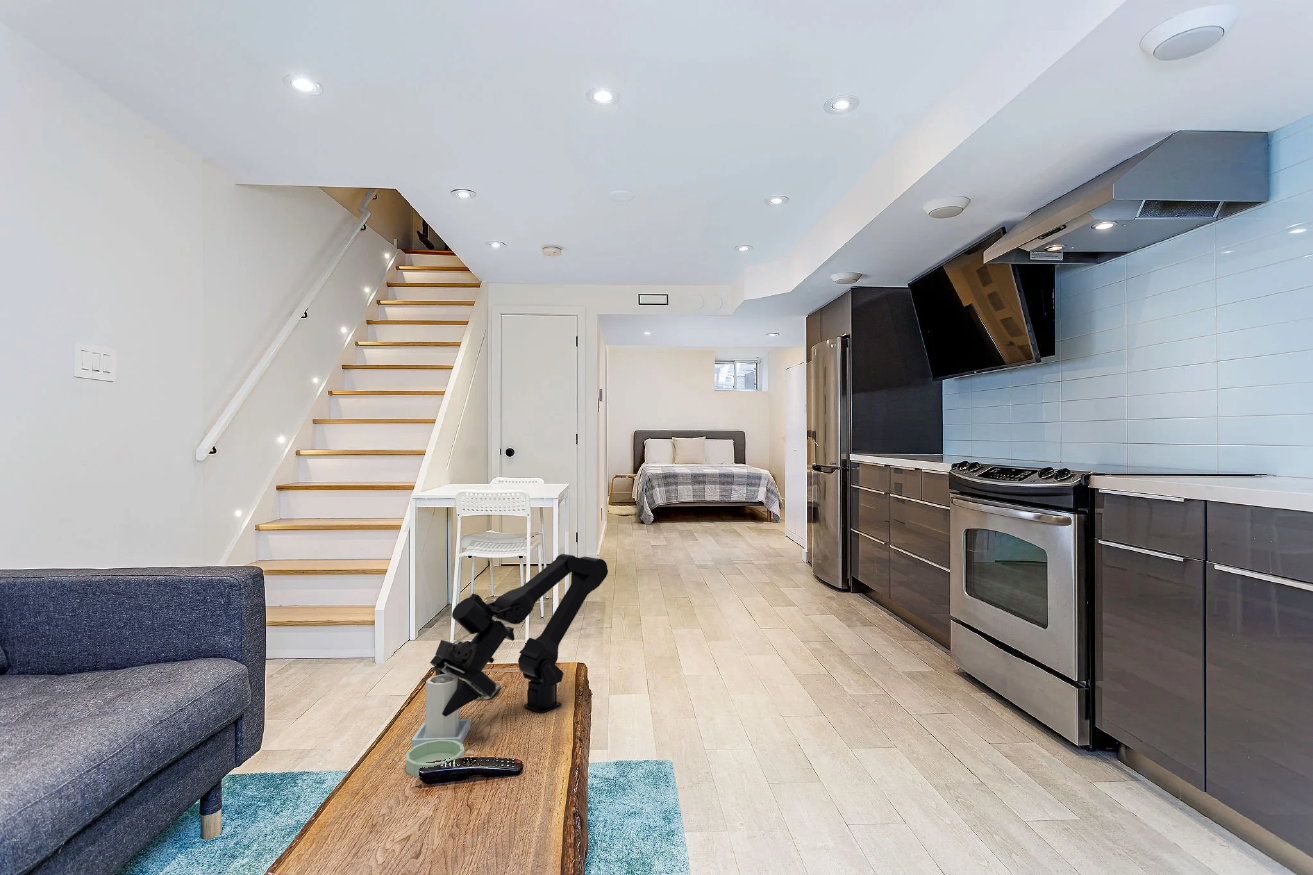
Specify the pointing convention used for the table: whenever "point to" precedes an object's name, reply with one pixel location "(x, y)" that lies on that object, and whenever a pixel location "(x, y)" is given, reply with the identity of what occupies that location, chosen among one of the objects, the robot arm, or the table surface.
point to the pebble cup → (440, 707)
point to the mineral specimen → (487, 696)
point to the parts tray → (462, 732)
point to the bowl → (432, 754)
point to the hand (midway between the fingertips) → (436, 711)
